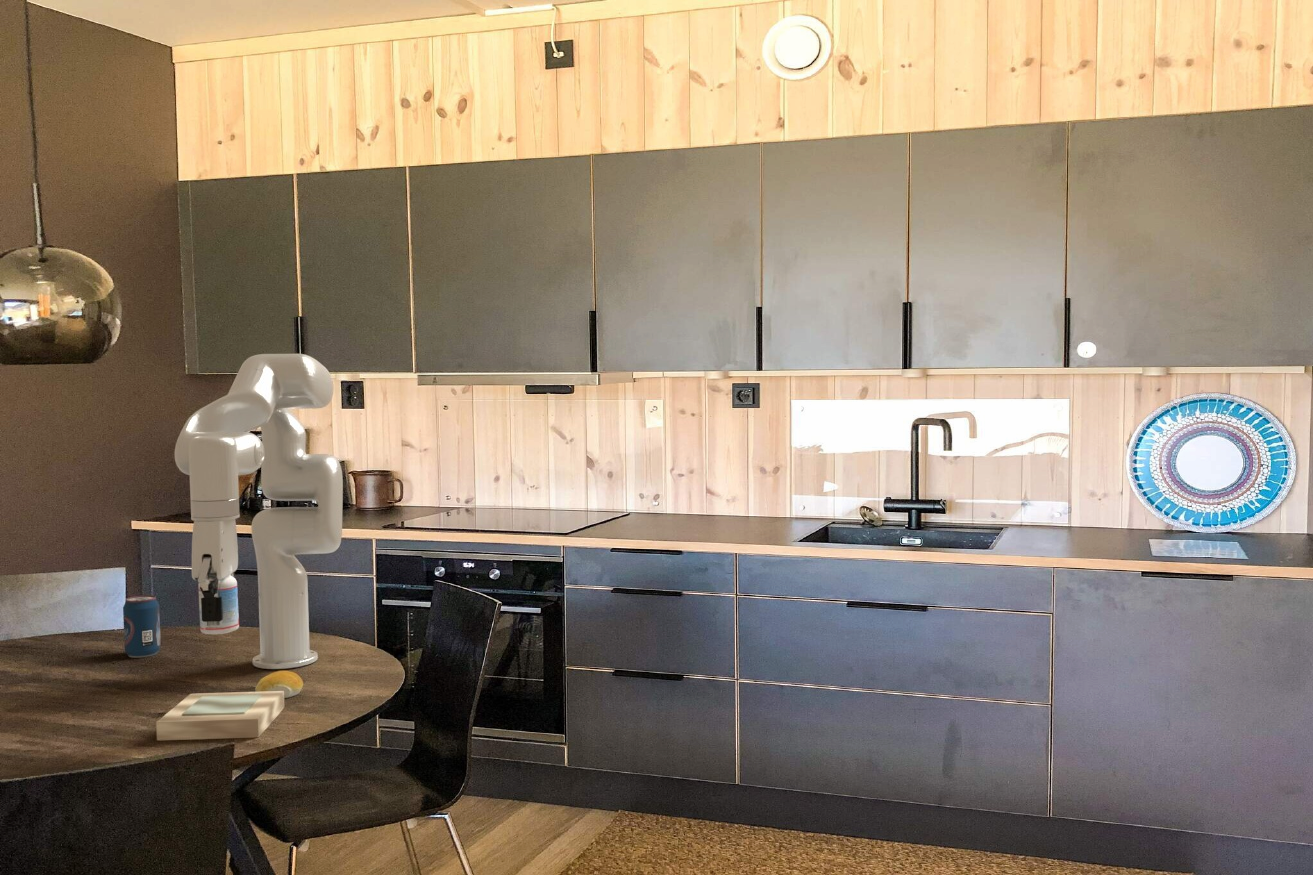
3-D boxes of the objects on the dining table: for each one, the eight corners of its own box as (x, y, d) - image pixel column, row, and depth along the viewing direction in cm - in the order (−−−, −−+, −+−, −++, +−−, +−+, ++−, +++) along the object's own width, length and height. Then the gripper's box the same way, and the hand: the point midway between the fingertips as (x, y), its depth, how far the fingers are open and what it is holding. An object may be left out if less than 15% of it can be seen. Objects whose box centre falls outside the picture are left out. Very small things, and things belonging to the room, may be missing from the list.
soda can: (120, 654, 237) (118, 597, 236) (155, 648, 241) (152, 593, 240) (130, 660, 231) (128, 602, 231) (165, 654, 236) (163, 597, 235)
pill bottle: (247, 628, 189) (244, 562, 189) (218, 636, 184) (216, 568, 183) (220, 625, 192) (218, 560, 191) (192, 633, 186) (189, 566, 186)
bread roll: (304, 685, 212) (303, 664, 212) (300, 698, 203) (299, 676, 203) (258, 688, 210) (257, 667, 210) (252, 702, 202) (251, 680, 201)
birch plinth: (191, 710, 196) (190, 691, 196) (284, 707, 197) (283, 689, 197) (156, 740, 180) (156, 720, 180) (258, 737, 181) (257, 717, 181)
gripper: (209, 503, 195) (213, 606, 196) (173, 517, 178) (177, 629, 179) (253, 503, 195) (257, 604, 197) (221, 516, 178) (225, 627, 179)
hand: (219, 615), depth 188 cm, fingers closed on pill bottle, 6 cm apart
